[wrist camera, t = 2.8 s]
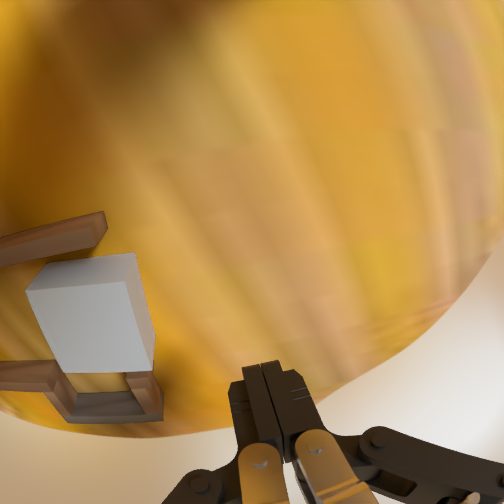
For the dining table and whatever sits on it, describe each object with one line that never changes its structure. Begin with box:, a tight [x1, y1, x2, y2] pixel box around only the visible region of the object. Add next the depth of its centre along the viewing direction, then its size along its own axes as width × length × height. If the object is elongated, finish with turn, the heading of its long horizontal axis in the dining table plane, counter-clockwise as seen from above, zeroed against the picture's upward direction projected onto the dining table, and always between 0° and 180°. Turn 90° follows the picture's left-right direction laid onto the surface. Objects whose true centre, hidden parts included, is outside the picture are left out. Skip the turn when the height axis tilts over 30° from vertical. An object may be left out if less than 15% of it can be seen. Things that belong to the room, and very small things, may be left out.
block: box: [25, 252, 155, 373], centre depth 16 cm, size 6×6×4 cm
